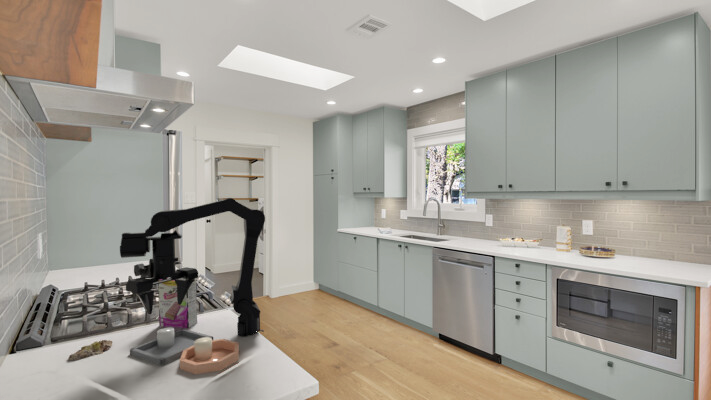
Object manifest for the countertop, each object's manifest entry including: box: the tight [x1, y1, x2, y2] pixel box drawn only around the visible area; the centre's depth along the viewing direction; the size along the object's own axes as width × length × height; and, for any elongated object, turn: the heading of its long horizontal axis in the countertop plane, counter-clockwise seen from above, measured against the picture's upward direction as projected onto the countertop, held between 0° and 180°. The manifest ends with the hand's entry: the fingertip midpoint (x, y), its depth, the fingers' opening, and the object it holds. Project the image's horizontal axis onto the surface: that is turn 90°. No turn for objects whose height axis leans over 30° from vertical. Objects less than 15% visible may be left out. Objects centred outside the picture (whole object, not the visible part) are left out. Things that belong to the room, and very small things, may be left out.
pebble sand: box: [194, 337, 213, 361], centre depth 95 cm, size 4×4×4 cm
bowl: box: [179, 338, 240, 375], centre depth 94 cm, size 14×14×3 cm
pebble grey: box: [156, 327, 175, 349], centre depth 103 cm, size 4×4×4 cm
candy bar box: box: [157, 278, 198, 329], centre depth 118 cm, size 11×5×16 cm, turn 79°
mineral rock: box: [67, 339, 113, 361], centre depth 99 cm, size 11×4×8 cm
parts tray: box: [129, 328, 214, 366], centre depth 101 cm, size 16×14×2 cm
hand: (165, 308), depth 102 cm, fingers open, 9 cm apart
